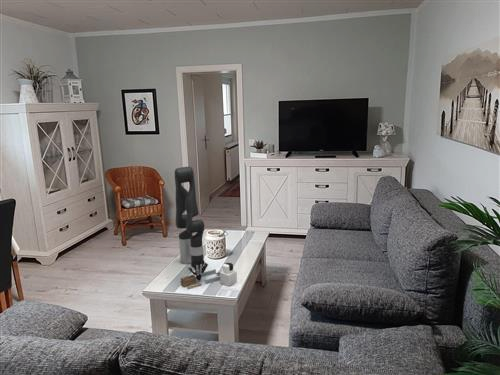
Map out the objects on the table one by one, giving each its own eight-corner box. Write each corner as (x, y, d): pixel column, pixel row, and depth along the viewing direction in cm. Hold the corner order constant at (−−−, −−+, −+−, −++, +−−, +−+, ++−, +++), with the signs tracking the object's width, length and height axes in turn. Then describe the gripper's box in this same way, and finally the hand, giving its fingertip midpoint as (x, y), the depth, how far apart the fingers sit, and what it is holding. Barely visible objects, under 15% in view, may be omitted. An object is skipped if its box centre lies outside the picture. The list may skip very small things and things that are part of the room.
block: (181, 285, 226) (180, 278, 225) (193, 281, 230) (193, 274, 229) (184, 287, 222) (183, 280, 221) (196, 284, 226) (196, 277, 225)
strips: (180, 282, 229) (180, 281, 229) (194, 278, 234) (194, 277, 233) (187, 289, 220) (187, 288, 219) (202, 285, 224) (201, 284, 224)
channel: (197, 277, 235) (197, 273, 235) (215, 272, 241) (215, 269, 241) (205, 284, 225) (205, 280, 225) (223, 279, 232) (223, 275, 231)
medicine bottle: (228, 279, 231) (227, 260, 229) (237, 282, 227) (236, 263, 224) (220, 283, 226) (219, 264, 224) (229, 286, 221) (228, 267, 219)
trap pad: (216, 273, 240) (216, 273, 240) (221, 271, 242) (221, 271, 242) (222, 278, 233) (222, 277, 233) (228, 276, 235) (228, 276, 235)
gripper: (204, 248, 232) (206, 275, 236) (184, 253, 225) (186, 280, 229) (209, 252, 226) (211, 279, 229) (189, 257, 219) (191, 285, 222)
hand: (198, 280), depth 229 cm, fingers closed
